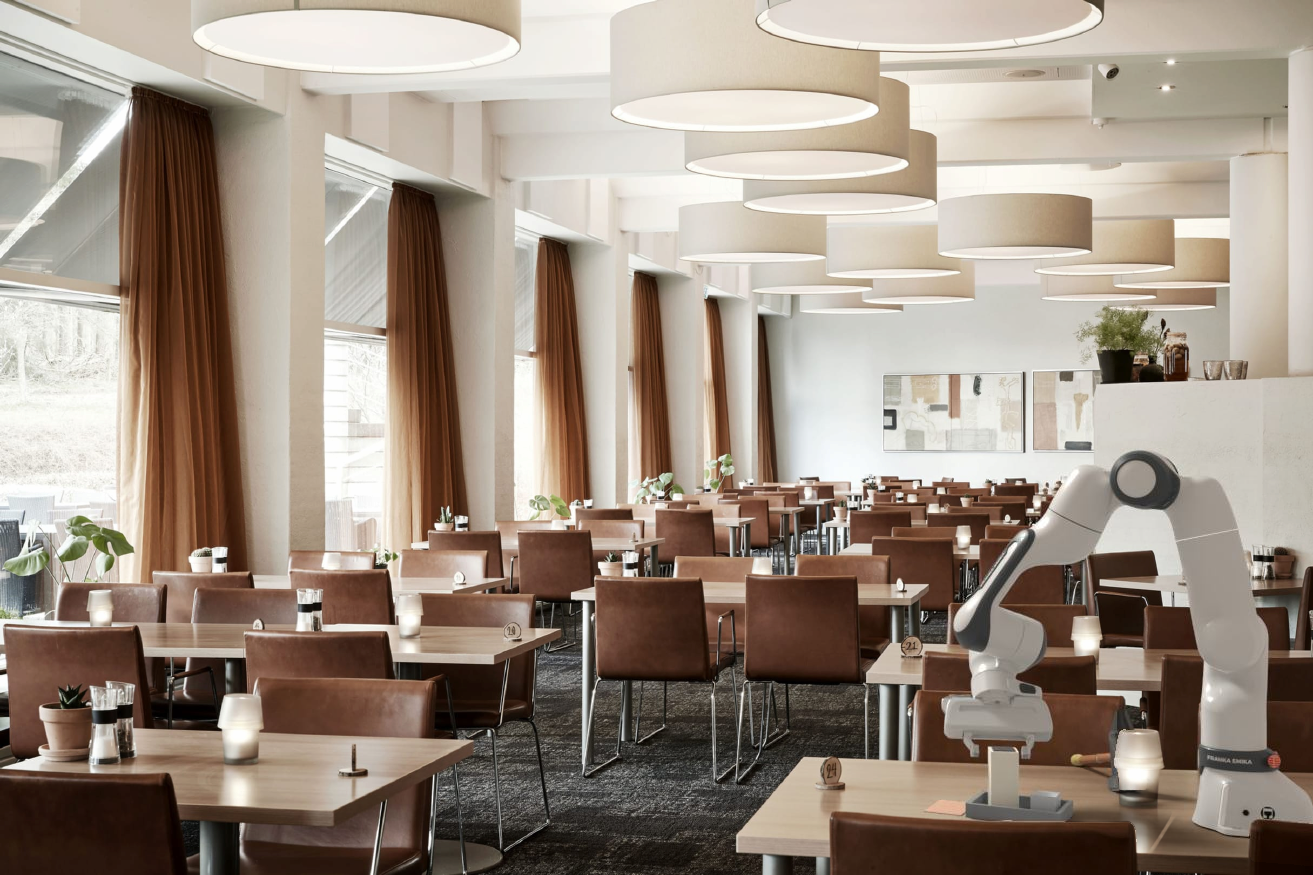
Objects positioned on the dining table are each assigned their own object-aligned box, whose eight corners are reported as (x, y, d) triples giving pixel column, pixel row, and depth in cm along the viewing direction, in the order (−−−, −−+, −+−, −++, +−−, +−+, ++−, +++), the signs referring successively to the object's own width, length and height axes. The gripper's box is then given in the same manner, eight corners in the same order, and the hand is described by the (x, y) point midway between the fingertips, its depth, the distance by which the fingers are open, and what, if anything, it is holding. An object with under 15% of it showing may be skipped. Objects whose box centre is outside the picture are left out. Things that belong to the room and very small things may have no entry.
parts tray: (1073, 816, 259) (1073, 800, 259) (1060, 830, 249) (1060, 813, 249) (981, 806, 267) (981, 790, 267) (965, 819, 256) (965, 803, 256)
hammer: (1086, 718, 311) (1140, 709, 282) (1092, 792, 307) (1147, 790, 278) (1060, 718, 311) (1111, 709, 282) (1065, 792, 307) (1118, 790, 278)
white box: (1015, 811, 261) (1015, 746, 262) (1018, 817, 256) (1018, 751, 257) (988, 810, 262) (988, 745, 262) (991, 816, 257) (991, 750, 257)
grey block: (1060, 817, 257) (1060, 792, 257) (1055, 822, 253) (1055, 797, 253) (1035, 814, 259) (1035, 790, 259) (1030, 819, 255) (1030, 794, 255)
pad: (976, 806, 267) (976, 803, 267) (960, 818, 257) (960, 815, 257) (940, 802, 270) (940, 799, 270) (923, 814, 260) (923, 810, 260)
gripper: (941, 684, 272) (945, 744, 262) (1049, 687, 270) (1057, 748, 260) (939, 704, 277) (943, 763, 267) (1046, 707, 274) (1053, 767, 264)
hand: (1000, 756), depth 263 cm, fingers open, 8 cm apart
